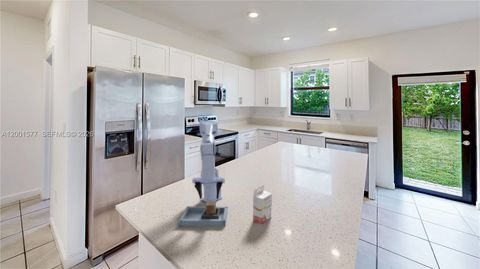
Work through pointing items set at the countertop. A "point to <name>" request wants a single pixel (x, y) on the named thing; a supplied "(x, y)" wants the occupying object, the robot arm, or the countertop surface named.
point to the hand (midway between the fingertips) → (209, 197)
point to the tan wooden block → (211, 208)
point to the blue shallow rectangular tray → (203, 217)
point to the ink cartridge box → (261, 205)
